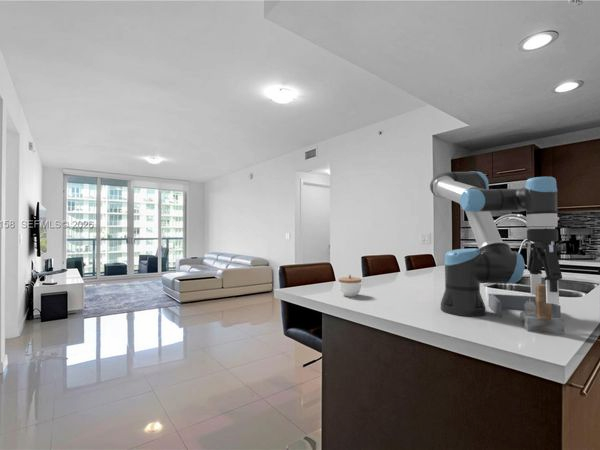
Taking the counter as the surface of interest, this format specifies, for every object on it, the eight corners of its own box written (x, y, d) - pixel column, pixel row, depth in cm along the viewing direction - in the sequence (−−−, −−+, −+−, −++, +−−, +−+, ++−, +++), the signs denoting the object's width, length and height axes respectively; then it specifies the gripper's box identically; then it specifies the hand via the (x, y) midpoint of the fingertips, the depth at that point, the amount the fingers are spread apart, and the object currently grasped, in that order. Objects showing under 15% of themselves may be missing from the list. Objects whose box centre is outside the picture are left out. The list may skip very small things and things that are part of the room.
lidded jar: (345, 292, 158) (345, 273, 158) (365, 294, 151) (365, 274, 151) (334, 295, 149) (334, 275, 149) (355, 298, 143) (355, 277, 143)
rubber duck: (540, 321, 105) (540, 297, 106) (540, 326, 100) (540, 301, 100) (520, 319, 109) (520, 295, 109) (519, 323, 104) (519, 299, 104)
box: (497, 315, 113) (497, 301, 113) (488, 306, 127) (488, 293, 127) (560, 320, 106) (560, 305, 107) (544, 310, 121) (544, 296, 121)
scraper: (527, 331, 96) (526, 284, 96) (524, 328, 99) (523, 283, 99) (564, 334, 93) (563, 286, 93) (559, 331, 96) (559, 284, 96)
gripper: (576, 227, 83) (578, 308, 83) (542, 228, 107) (543, 292, 106) (541, 227, 86) (543, 306, 85) (515, 229, 109) (517, 291, 109)
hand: (543, 298), depth 96 cm, fingers open, 13 cm apart
